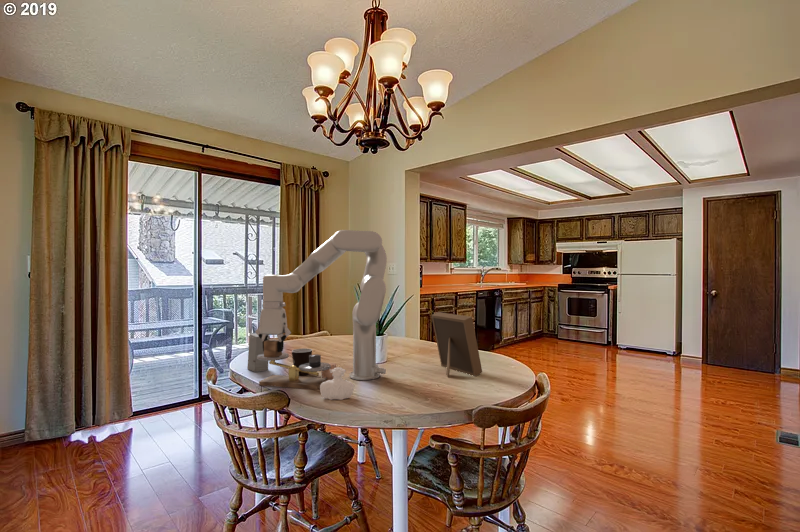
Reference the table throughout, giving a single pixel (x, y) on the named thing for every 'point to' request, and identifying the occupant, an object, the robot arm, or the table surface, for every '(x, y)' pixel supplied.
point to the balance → (308, 368)
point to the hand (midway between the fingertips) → (273, 350)
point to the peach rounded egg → (328, 372)
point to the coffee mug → (301, 358)
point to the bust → (337, 386)
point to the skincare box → (256, 354)
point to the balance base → (292, 382)
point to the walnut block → (271, 348)
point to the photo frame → (457, 343)
